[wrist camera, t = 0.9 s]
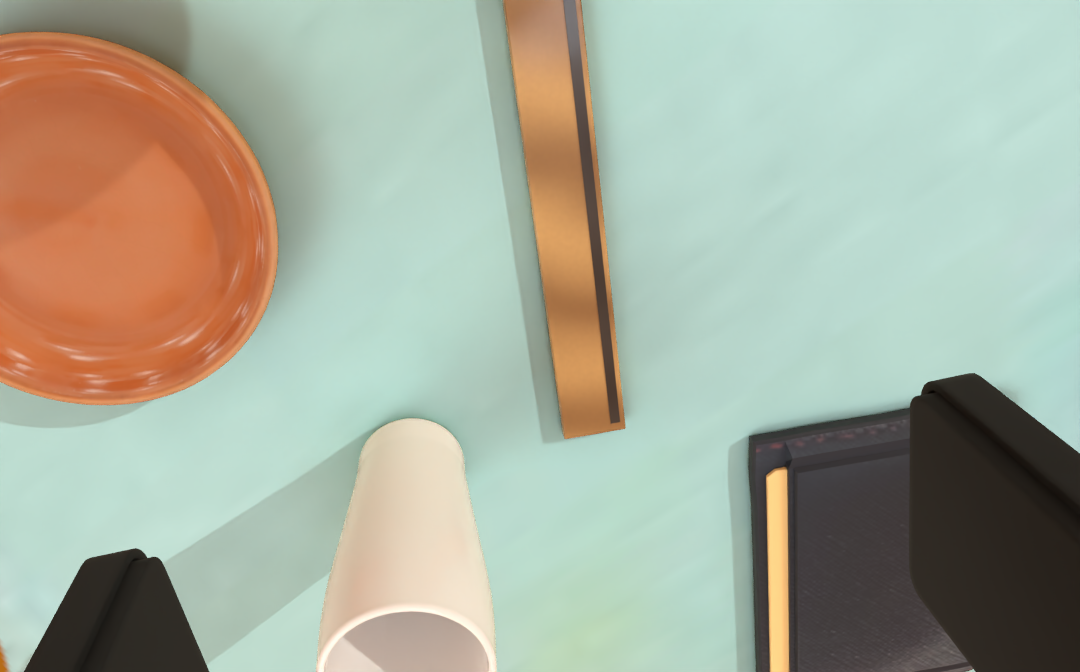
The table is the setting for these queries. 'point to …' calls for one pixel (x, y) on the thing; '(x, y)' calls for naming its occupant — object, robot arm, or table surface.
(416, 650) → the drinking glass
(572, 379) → the ruler
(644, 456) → the table surface
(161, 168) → the saucer
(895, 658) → the wallet
